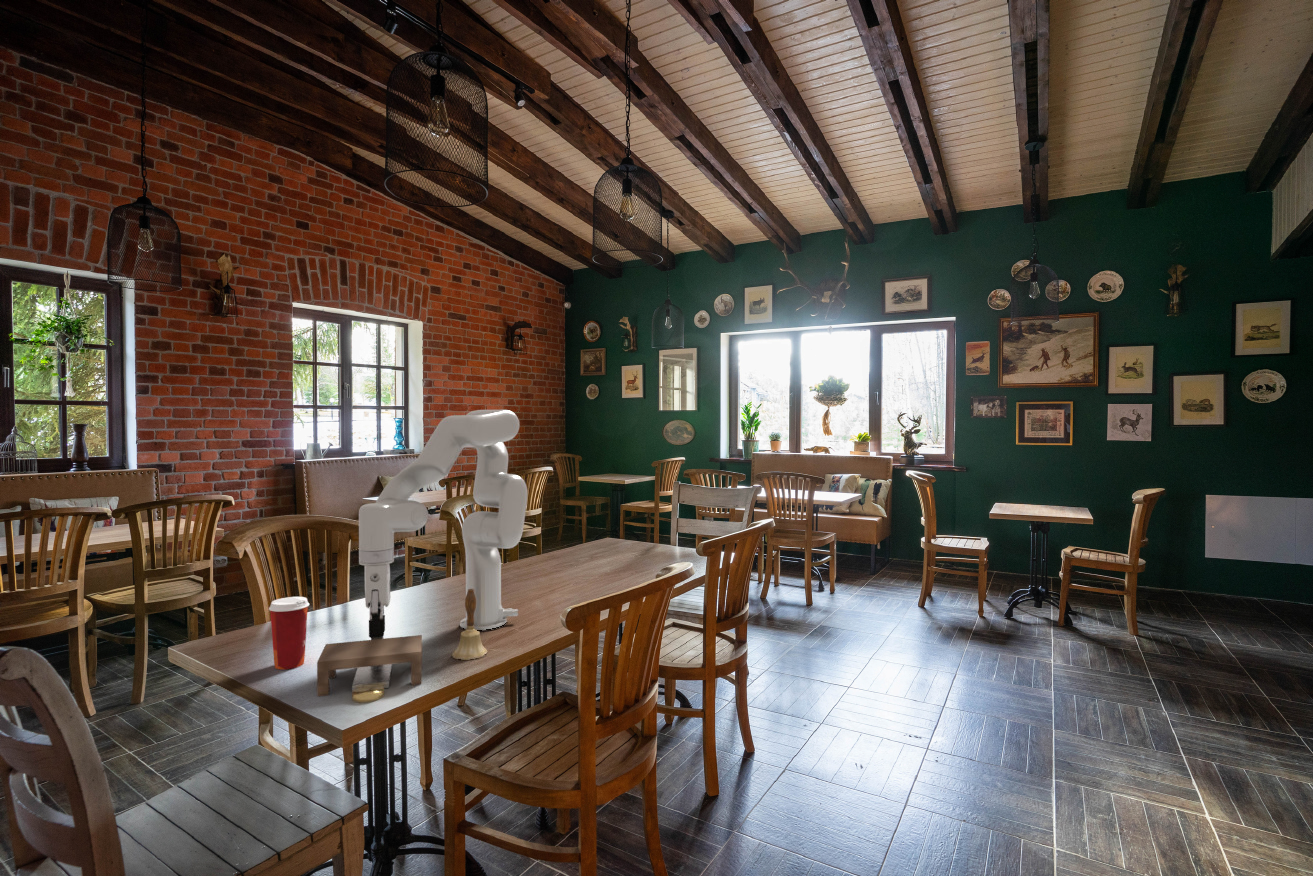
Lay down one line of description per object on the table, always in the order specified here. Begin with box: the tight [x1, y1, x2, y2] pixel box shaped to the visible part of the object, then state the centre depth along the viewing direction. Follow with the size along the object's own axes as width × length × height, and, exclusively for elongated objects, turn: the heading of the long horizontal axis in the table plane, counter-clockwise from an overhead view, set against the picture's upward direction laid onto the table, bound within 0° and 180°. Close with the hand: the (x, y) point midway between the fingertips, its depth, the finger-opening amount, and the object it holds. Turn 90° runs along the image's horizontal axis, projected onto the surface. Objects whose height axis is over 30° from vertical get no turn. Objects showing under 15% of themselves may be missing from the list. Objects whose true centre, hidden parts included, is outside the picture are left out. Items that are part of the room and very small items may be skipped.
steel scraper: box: [351, 595, 393, 693], centre depth 146 cm, size 7×19×15 cm, turn 19°
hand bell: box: [451, 589, 488, 661], centre depth 159 cm, size 8×8×16 cm
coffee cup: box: [268, 596, 310, 671], centre depth 151 cm, size 8×8×15 cm
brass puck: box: [351, 685, 385, 704], centre depth 134 cm, size 6×6×2 cm
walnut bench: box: [316, 634, 423, 697], centre depth 143 cm, size 20×12×7 cm, turn 109°
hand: (377, 634), depth 154 cm, fingers closed on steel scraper, 2 cm apart
